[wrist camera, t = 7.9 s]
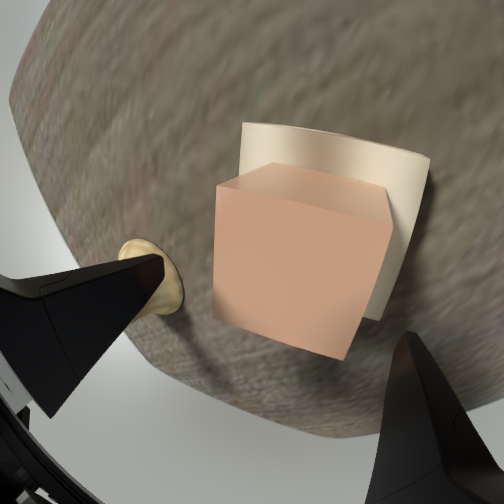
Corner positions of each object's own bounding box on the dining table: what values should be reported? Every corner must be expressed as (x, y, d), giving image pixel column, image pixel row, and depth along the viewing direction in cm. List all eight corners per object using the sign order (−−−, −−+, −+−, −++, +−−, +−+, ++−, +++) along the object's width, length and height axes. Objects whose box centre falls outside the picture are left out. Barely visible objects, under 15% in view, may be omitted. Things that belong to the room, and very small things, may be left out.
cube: (384, 187, 13) (393, 226, 8) (356, 286, 16) (343, 360, 11) (272, 162, 15) (216, 185, 10) (261, 259, 17) (213, 317, 13)
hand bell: (179, 247, 23) (20, 367, 10) (188, 323, 27) (77, 439, 14) (115, 231, 26) (-19, 312, 13) (129, 299, 30) (25, 385, 17)
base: (420, 153, 14) (430, 159, 11) (380, 295, 18) (379, 321, 16) (262, 122, 17) (242, 122, 14) (250, 259, 22) (232, 278, 19)
